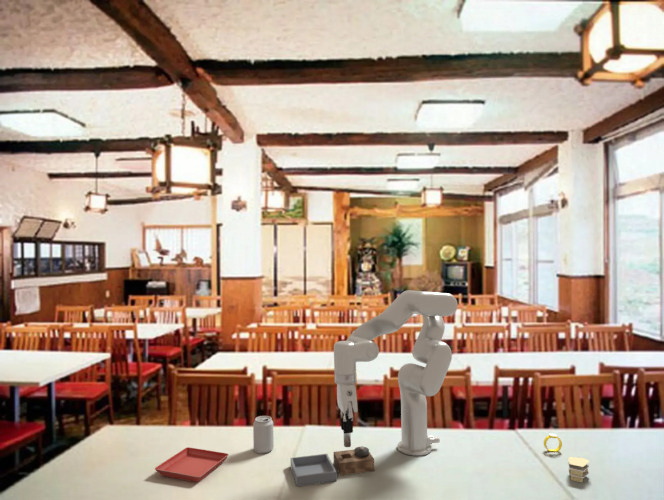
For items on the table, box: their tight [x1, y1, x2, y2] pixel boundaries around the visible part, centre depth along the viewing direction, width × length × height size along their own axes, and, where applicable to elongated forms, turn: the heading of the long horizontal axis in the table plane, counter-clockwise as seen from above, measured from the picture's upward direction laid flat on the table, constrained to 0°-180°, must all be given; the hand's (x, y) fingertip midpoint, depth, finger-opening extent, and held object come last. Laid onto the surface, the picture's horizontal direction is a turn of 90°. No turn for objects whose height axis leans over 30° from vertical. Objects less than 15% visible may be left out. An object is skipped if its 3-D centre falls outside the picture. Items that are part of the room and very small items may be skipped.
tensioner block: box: [333, 446, 375, 476], centre depth 157 cm, size 12×9×6 cm
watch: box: [543, 433, 563, 453], centre depth 167 cm, size 6×3×6 cm, turn 88°
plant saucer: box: [154, 446, 229, 483], centre depth 158 cm, size 18×18×3 cm
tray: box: [290, 453, 338, 487], centre depth 153 cm, size 13×14×3 cm
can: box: [252, 415, 275, 454], centre depth 172 cm, size 8×8×12 cm
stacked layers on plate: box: [567, 456, 590, 483], centre depth 148 cm, size 10×9×6 cm
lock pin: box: [343, 415, 352, 448], centre depth 157 cm, size 2×2×10 cm
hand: (347, 430), depth 157 cm, fingers closed on lock pin, 2 cm apart
